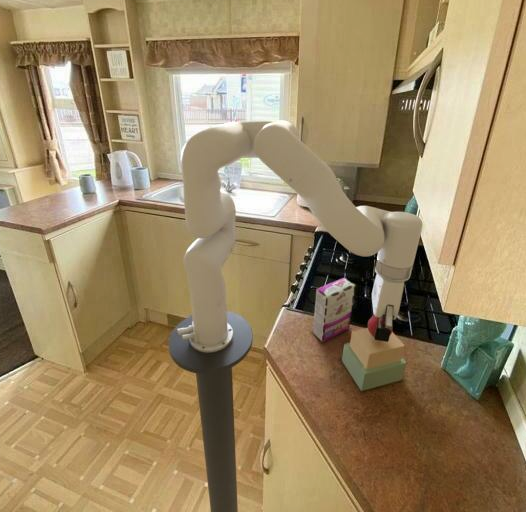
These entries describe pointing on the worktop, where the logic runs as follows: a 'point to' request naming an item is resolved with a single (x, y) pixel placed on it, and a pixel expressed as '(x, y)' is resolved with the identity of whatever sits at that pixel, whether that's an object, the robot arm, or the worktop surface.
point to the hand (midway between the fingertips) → (379, 328)
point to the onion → (375, 324)
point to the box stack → (373, 359)
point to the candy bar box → (333, 309)
